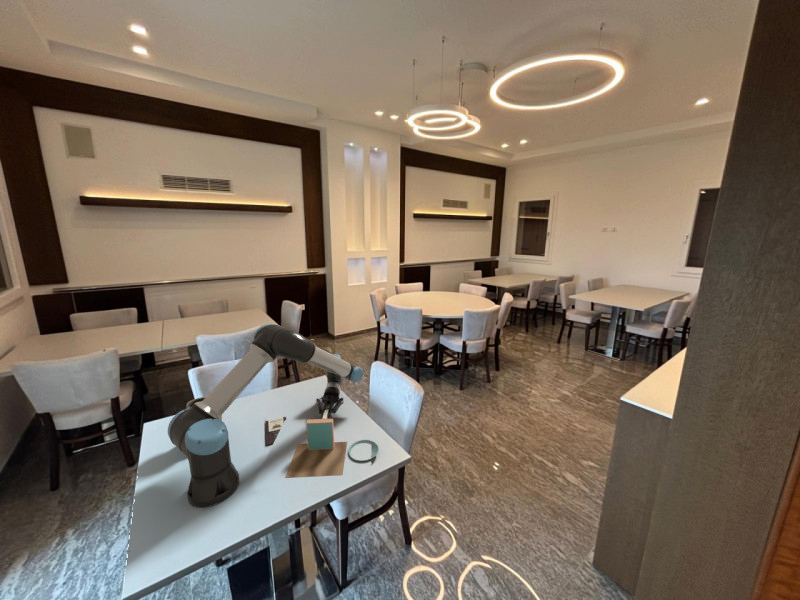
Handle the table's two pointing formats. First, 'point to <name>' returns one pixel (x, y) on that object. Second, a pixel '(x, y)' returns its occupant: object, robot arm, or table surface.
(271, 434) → the chocolate bar
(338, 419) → the table surface
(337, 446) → the board
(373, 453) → the saucer
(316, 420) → the tile
